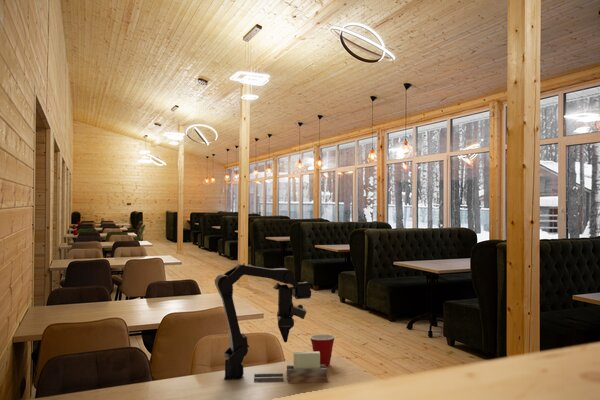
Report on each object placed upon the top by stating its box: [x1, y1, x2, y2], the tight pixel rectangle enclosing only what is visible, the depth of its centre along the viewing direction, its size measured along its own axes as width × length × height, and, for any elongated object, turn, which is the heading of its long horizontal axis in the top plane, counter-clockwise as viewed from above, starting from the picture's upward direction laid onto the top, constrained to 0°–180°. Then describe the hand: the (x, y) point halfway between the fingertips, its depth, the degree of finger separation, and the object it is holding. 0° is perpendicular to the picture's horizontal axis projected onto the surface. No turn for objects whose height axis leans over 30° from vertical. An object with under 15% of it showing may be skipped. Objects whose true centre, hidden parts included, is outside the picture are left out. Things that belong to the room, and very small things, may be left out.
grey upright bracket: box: [253, 372, 284, 383], centre depth 172 cm, size 11×5×1 cm, turn 94°
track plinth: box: [285, 364, 329, 384], centre depth 173 cm, size 15×10×4 cm, turn 94°
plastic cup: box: [309, 334, 336, 367], centre depth 188 cm, size 11×11×12 cm
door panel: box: [293, 351, 320, 369], centre depth 173 cm, size 10×2×8 cm, turn 94°
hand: (285, 339), depth 181 cm, fingers open, 9 cm apart
